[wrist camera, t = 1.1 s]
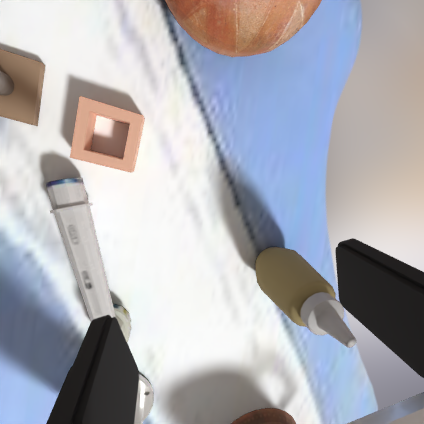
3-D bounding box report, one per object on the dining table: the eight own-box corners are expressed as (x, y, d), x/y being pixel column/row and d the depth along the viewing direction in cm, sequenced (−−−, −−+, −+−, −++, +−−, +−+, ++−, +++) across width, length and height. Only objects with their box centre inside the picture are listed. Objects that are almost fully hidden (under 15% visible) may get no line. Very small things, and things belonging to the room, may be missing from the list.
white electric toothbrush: (80, 175, 28) (129, 364, 31) (97, 178, 35) (136, 333, 38) (32, 184, 27) (88, 376, 31) (58, 185, 34) (102, 343, 37)
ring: (134, 170, 33) (131, 172, 30) (78, 157, 31) (70, 157, 28) (144, 118, 31) (143, 115, 28) (87, 101, 30) (79, 95, 27)
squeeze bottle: (251, 239, 39) (323, 307, 21) (296, 240, 40) (395, 304, 23) (245, 284, 40) (306, 380, 23) (288, 283, 42) (375, 372, 25)
